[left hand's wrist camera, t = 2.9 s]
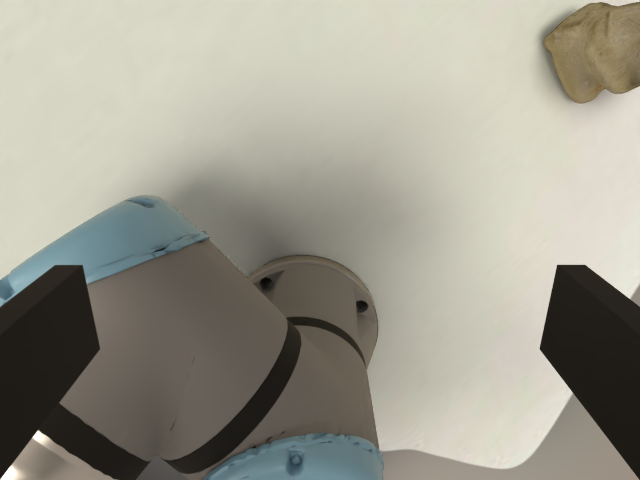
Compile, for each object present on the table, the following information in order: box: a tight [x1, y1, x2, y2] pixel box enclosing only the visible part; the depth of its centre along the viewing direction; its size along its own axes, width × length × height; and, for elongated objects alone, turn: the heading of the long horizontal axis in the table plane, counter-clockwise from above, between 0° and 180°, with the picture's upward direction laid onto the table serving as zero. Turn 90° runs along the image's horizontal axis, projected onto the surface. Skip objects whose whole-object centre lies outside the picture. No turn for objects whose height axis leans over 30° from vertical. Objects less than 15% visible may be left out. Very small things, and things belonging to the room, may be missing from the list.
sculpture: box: [544, 2, 640, 103], centre depth 31 cm, size 6×7×15 cm
